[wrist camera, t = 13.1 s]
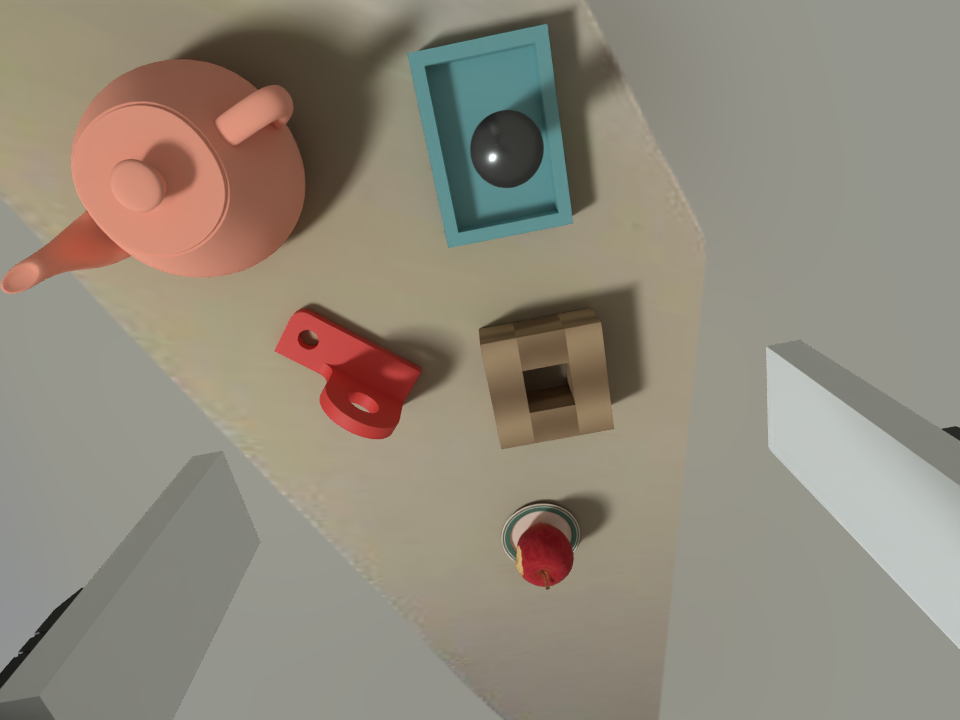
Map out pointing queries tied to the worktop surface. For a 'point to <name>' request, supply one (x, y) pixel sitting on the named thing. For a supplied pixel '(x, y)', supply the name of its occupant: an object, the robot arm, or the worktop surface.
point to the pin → (506, 148)
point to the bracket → (351, 374)
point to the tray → (464, 104)
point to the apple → (541, 542)
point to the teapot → (178, 176)
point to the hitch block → (543, 346)
